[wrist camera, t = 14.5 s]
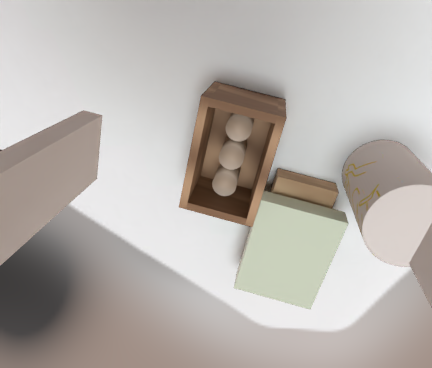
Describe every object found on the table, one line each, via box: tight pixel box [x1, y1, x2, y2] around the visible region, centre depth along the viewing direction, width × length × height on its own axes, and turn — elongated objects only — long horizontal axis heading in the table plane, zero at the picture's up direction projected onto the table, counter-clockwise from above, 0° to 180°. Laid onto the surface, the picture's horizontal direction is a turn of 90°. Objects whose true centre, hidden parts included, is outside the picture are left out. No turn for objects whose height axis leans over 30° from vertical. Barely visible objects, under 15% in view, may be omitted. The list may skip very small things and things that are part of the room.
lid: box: [234, 191, 348, 309], centre depth 44 cm, size 12×10×3 cm
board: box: [270, 168, 339, 209], centre depth 47 cm, size 16×7×2 cm, turn 168°
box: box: [179, 82, 286, 227], centre depth 40 cm, size 12×8×8 cm, turn 168°
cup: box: [342, 140, 432, 267], centre depth 37 cm, size 8×8×12 cm
